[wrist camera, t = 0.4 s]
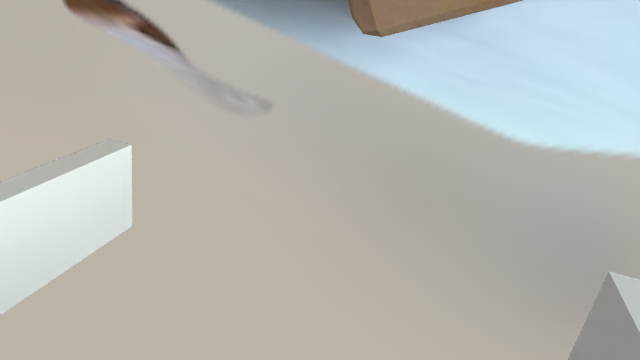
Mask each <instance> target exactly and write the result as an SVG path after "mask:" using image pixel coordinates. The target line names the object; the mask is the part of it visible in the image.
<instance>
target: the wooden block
mask: <svg viewBox="0 0 640 360" xmlns="http://www.w3.org/2000/svg"><path fill="white" fill-rule="evenodd" d="M348 1H349V5H350V9H351V14H352V18H353V19H354V21H355V22H356V24H357V25H358V27H359V28H360V30H361V31H362V33H363V34H367V35H374V36H380V37H384V36H387V35H391V34H395V33H399V32H403V31H407V30H411V29H414V28H418V27H422V26H426V25H430V24H434V23H438V22H441V21H445V20H449V19H453V18H457V17H461V16H465V15H468V14H472V13H476V12H480V11H484V10H488V9H492V8H495V7H499V6H503V5H507V4H511V3H515V2H519V1H522V0H348Z"/></svg>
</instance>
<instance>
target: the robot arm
mask: <svg viewBox="0 0 640 360" xmlns="http://www.w3.org/2000/svg"><path fill="white" fill-rule="evenodd" d="M131 226H132V145H131V144H127V143H123V142H120V141H116V140H112V139H108V140H105V141H103V142H100V143H98V144H95V145H92V146H90V147H87V148H85V149H82V150H80V151H77V152H74V153H72V154H69V155H67V156H64V157H62V158H59V159H57V160H54V161H51V162H49V163H46V164H44V165H41V166H39V167H36V168H34V169H31V170H29V171H26V172H24V173H21V174H19V175H16V176H13V177H11V178H8V179H6V180H3V181H1V182H0V315H1V314H3V313H4V312H6V311H7V310H8V309H10V308H12V307H13V306H14V305H16V304H17V303H19V302H20V301H22V300H23V299H25V298H26V297H28V296H29V295H31V294H32V293H33V292H35V291H37V290H38V289H39V288H41V287H43V286H44V285H46V284H47V283H49V282H50V281H52V280H53V279H54V278H56V277H57V276H59V275H60V274H62V273H63V272H65V271H66V270H68V269H69V268H71V267H72V266H74V265H75V264H77V263H78V262H80V261H81V260H83V259H84V258H86V257H87V256H89V254H91V253H93V252H94V251H96V250H97V249H99V248H100V247H102V246H103V245H105V244H106V243H108V242H109V241H111V240H112V239H114V238H115V237H117V236H118V235H120V234H121V233H123V232H124V231H125V230H127V229H128V228H130V227H131ZM568 360H640V279H636V278H632V277H628V276H625V275H621V274H617V273H613V272H608V274H607V277H606V279H605V281H604V283H603V285H602V288H601V290H600V292H599V294H598V296H597V298H596V301H595V302H594V305H593V307H592V309H591V311H590V313H589V315H588V317H587V320H586V322H585V324H584V326H583V328H582V331H581V332H580V335H579V337H578V339H577V341H576V343H575V345H574V347H573V350H572V352H571V354H570V356H569V358H568Z"/></svg>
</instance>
